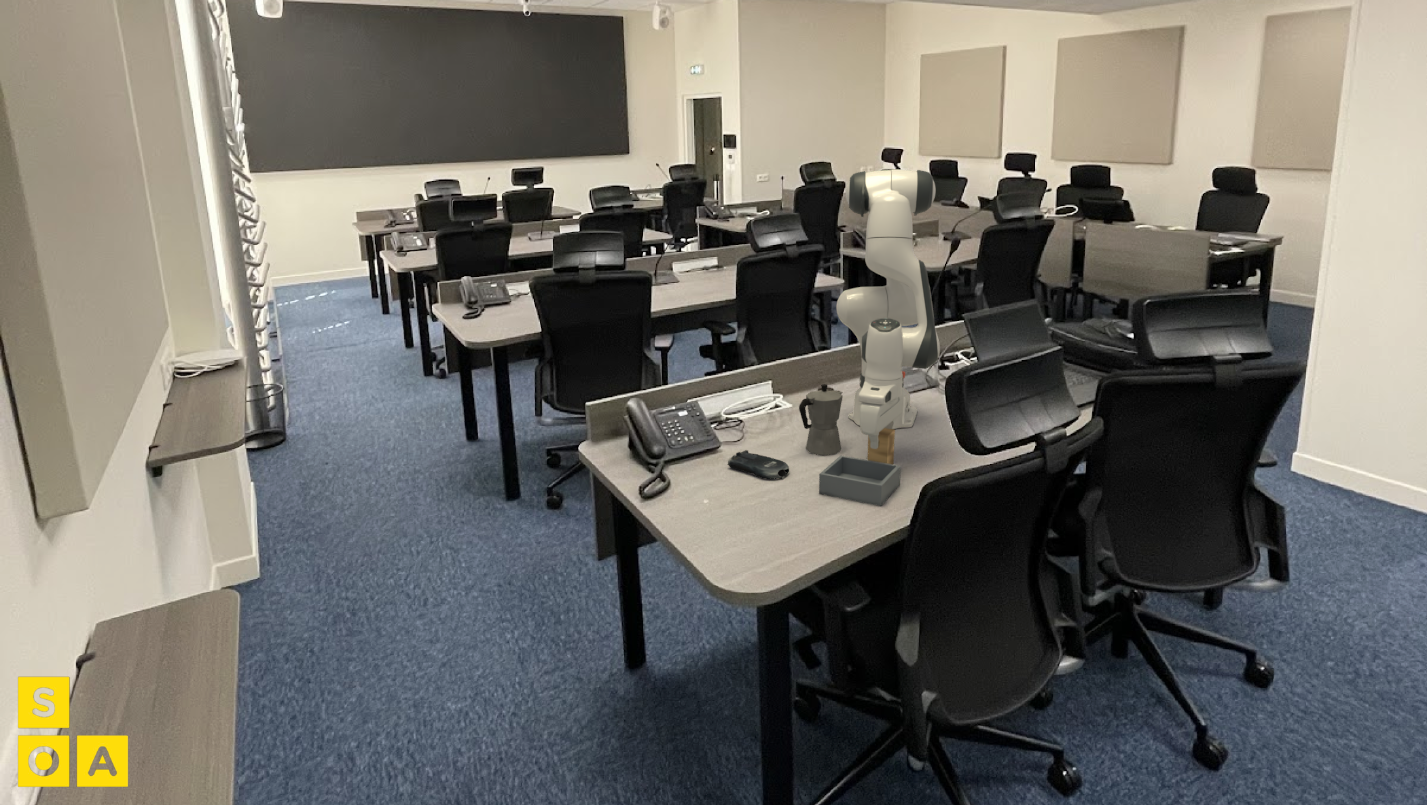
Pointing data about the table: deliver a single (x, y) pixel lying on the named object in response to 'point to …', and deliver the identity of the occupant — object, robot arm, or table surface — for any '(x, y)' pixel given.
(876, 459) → the oak block
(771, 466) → the electronic device
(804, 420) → the coffeepot
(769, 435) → the table surface
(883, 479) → the desk bin
